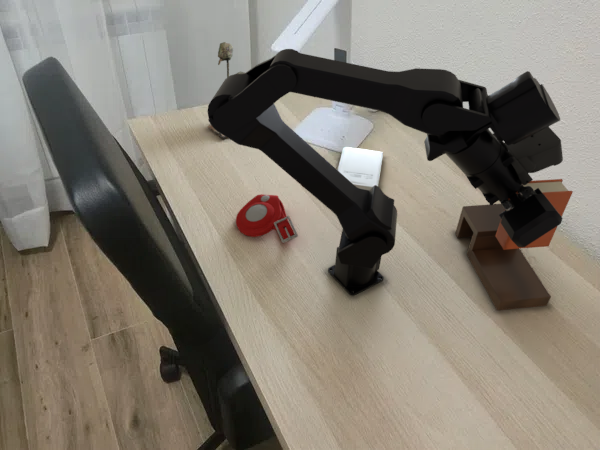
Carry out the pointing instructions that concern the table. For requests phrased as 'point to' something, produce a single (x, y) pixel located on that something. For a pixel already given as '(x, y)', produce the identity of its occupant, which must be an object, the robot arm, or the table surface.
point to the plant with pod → (226, 55)
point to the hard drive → (361, 166)
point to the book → (557, 198)
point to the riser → (499, 261)
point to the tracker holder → (265, 218)
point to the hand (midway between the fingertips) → (533, 217)
